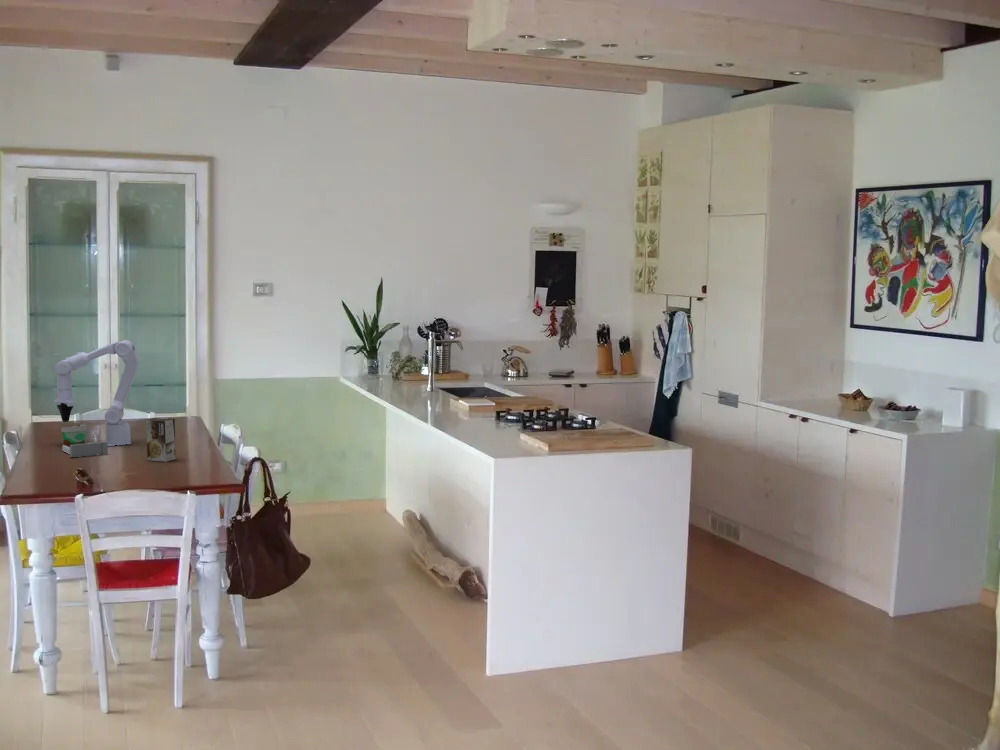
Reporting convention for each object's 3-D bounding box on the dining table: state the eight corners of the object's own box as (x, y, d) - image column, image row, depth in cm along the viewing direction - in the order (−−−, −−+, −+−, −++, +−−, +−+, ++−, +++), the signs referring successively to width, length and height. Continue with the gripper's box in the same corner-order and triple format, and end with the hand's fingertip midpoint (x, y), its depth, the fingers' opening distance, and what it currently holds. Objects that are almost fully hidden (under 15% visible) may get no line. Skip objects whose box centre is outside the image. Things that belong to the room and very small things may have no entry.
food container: (74, 452, 418) (74, 427, 417) (61, 451, 420) (60, 426, 419) (94, 447, 430) (93, 423, 429) (81, 446, 432) (80, 422, 430)
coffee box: (176, 459, 407) (175, 418, 405) (166, 462, 401) (165, 420, 399) (157, 457, 410) (156, 417, 408) (146, 460, 404) (145, 419, 402)
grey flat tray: (94, 448, 427) (93, 436, 426) (107, 454, 414) (107, 442, 414) (58, 452, 418) (58, 439, 418) (71, 458, 405) (71, 445, 405)
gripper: (49, 387, 433) (50, 420, 434) (59, 391, 422) (61, 424, 423) (66, 386, 437) (67, 418, 439) (77, 390, 426) (78, 423, 428)
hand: (65, 421), depth 431 cm, fingers closed
